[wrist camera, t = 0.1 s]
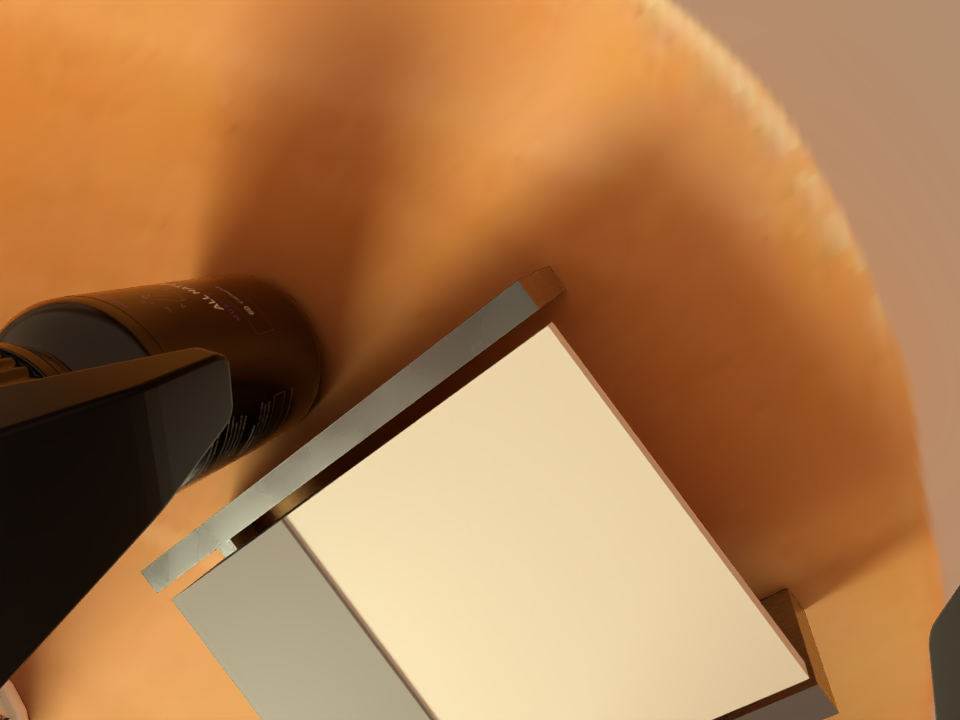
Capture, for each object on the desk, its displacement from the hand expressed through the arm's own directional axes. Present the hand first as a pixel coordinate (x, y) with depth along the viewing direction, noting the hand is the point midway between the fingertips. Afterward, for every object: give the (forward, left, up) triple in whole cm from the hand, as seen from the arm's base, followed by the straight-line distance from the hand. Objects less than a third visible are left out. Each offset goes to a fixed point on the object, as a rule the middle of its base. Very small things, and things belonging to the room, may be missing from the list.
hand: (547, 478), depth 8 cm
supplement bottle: (-13, +7, -16) cm, 22 cm away
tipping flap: (-10, -5, -13) cm, 17 cm away
